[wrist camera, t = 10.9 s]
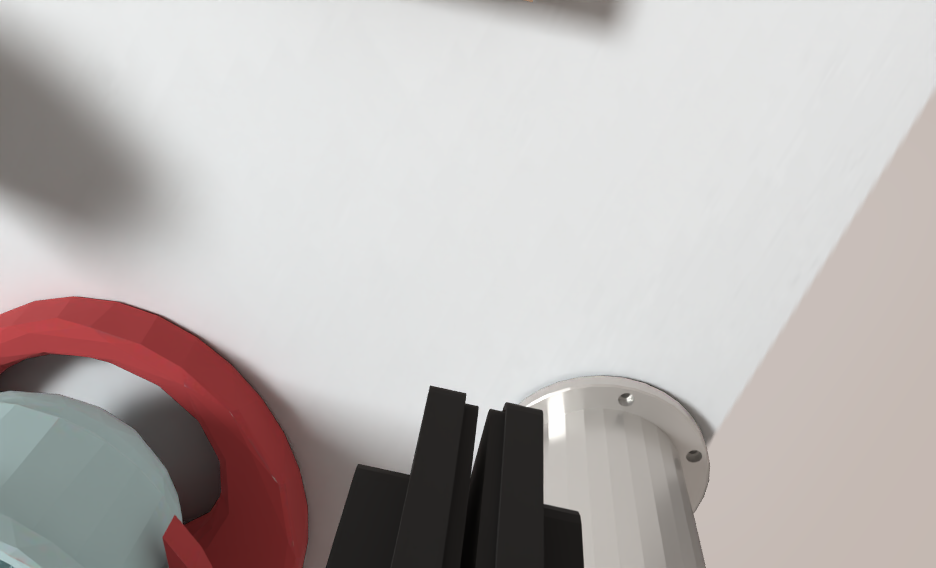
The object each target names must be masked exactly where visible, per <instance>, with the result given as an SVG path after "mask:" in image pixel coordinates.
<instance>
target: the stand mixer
mask: <svg viewBox="0 0 936 568" xmlns="http://www.w3.org/2000/svg"><path fill="white" fill-rule="evenodd" d="M48 354H58V355H74V356H84V357H91V358H95V359H98V360H102V361H106V362H109V363H112V364H114V365H116V366H118V367H121V368H123V369H125V370H127V371H129V372H131V373H133V374H135V375H137V376H139V377H142V378H144V379H146V380H148V381H150V382H152V383H154V384H156V385H158V386H160V387H161V388H162V389H163V390H164V391H165V392H166V393H167V394H169V395H170V396H171V397H172V398H173V399H174V400H175V401H176V402H177V403H179V404H180V405H181V406H182V407H183V408H184V409H185V410H186V411H188V412H189V413H190V414H191V415H192V416H193V417H194V418H195V419H197V420H198V422H199V423H200V425H201V427H202V429H203V431H204V433H205V434H206V436H207V438H208V440H209V442H210V444H211V446H212V447H213V449H214V451H215V453H216V455H217V457H218V460H219V462H220V479H221V494H220V497H219V499H218V500H217V502H216V503H215V505H214V506H213V508H212V510H211V511H210V512H209V513H207V514H205V515H203V516H201V517H199V518H197V519H195V520H193V521H191V522H189V523H187V524H185V525H183V522H182V514H181V509H180V503H179V498H178V494H177V492H176V490H175V487H174V485H173V483H172V480H171V478H170V476H169V473H168V471H167V469H166V468H165V466H164V465H163V464H162V462H161V461H160V460H159V458H158V457H157V456H156V455H155V453H154V452H153V451H152V450H151V448H150V447H149V446H148V445H147V444H146V442H145V441H144V440H143V439H142V437H141V436H140V435H139V434H138V432H137V431H136V430H135V429H133V428H132V427H130V426H129V425H127V424H126V423H124V422H123V421H121V420H120V419H118V418H117V417H115V416H113V415H112V414H110V413H109V412H107V411H106V410H104V409H102V408H100V407H98V406H95V405H92V404H88V403H85V402H82V401H79V400H76V399H73V398H69V397H66V396H63V395H60V394H48V393H34V392H21V391H6V392H0V568H302V567H303V563H304V558H305V553H306V548H307V543H308V506H307V501H306V497H305V492H304V487H303V483H302V478H301V474H300V470H299V467H298V465H297V462H296V460H295V458H294V455H293V453H292V451H291V448H290V446H289V443H288V441H287V439H286V436H285V434H284V432H283V431H282V429H281V428H280V426H279V424H278V423H277V421H276V420H275V418H274V417H273V415H272V413H271V412H270V410H269V409H268V407H267V406H266V404H265V403H264V401H263V399H262V398H261V397H260V396H259V395H258V393H257V392H256V391H255V390H254V389H253V388H252V387H251V386H250V385H249V383H248V382H247V381H246V380H245V379H244V378H243V377H242V376H241V375H240V373H239V372H238V371H237V370H236V369H235V368H234V367H233V366H232V365H231V364H230V363H229V362H227V361H226V360H225V359H224V358H222V357H221V356H220V355H219V354H217V353H216V352H215V351H214V350H212V349H211V348H210V347H209V346H207V345H206V344H205V343H204V342H202V341H201V340H200V339H199V338H197V337H196V336H194V335H192V334H190V333H189V332H187V331H185V330H183V329H181V328H179V327H178V326H176V325H174V324H172V323H170V322H169V321H167V320H165V319H163V318H161V317H160V316H158V315H155V314H152V313H149V312H146V311H143V310H140V309H137V308H134V307H131V306H128V305H125V304H122V303H119V302H115V301H107V300H99V299H90V298H82V297H74V296H73V297H64V298H56V299H48V300H40V301H34V302H31V303H28V304H26V305H23V306H21V307H18V308H16V309H13V310H10V311H8V312H5V313H3V314H1V315H0V374H1V373H2V372H3V371H5V370H6V369H7V368H9V367H11V366H13V365H15V364H17V363H19V362H21V361H23V360H25V359H27V358H33V357H38V356H43V355H48Z"/></svg>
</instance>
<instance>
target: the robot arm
mask: <svg viewBox="0 0 936 568" xmlns="http://www.w3.org/2000/svg"><path fill="white" fill-rule="evenodd" d="M465 400H466V393H462V392H457V391H453V390H448V389H443V388H439V387H434V386H430V388H429V393H428V397H427V402H426V406H425V411H424V415H423V420H422V424H421V429H420V433H419V438H418V442H417V446H416V451H415V455H414V460H413V464H412V469H411V473H410V475H407V474H403V473H398V472H394V471H389V470H384V469H380V468H375V467H370V466H366V465H361V464H358V466H357V468H356V471H355V474H354V477H353V480H352V484H351V487H350V490H349V493H348V497H347V500H346V503H345V506H344V510H343V513H342V516H341V519H340V523H339V526H338V529H337V532H336V536H335V539H334V542H333V545H332V549H331V552H330V555H329V559H328V562H327V565H326V568H706V567H705V562H704V558H703V554H702V549H701V545H700V541H699V536H698V532H697V528H696V523H695V519H694V515H693V513H694V512H695V511H696V509H697V507H698V506H699V504H700V502H701V501H702V499H703V497H704V495H705V492H706V488H707V485H708V482H709V471H710V463H709V457H708V452H707V447H706V444H705V441H704V438H703V435H702V432H701V430H700V428H699V427H698V425H697V423H696V422H695V420H694V419H693V417H692V416H691V415H690V414H689V412H688V411H687V410H686V409H685V408H684V407H683V406H682V405H681V404H680V403H679V402H677V401H676V400H674V399H673V398H672V397H670V396H669V395H667V394H666V393H664V392H663V391H661V390H658V389H656V388H654V387H652V386H650V385H647V384H645V383H642V382H638V381H634V380H631V379H627V378H622V377H611V376H587V377H578V378H573V379H569V380H564V381H560V382H557V383H555V384H552V385H550V386H547V387H545V388H542V389H540V390H538V391H537V392H535V393H534V394H532V395H530V396H529V397H527V398H526V399H524V400H523V401H522V402H521V403H519V404H518V405H517V404H512V403H508V402H506V403H505V405H504V408H503V411H498V410H493V409H490V410H489V412H488V415H487V419H486V422H485V426H484V430H483V433H482V437H481V441H480V444H479V448H478V452H477V456H476V459H475V463H474V467H473V470H472V474H471V469H472V460H473V451H474V443H475V434H476V426H477V417H478V408H479V407H478V406H475V405H470V404H465ZM470 477H471V478H470Z"/></svg>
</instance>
